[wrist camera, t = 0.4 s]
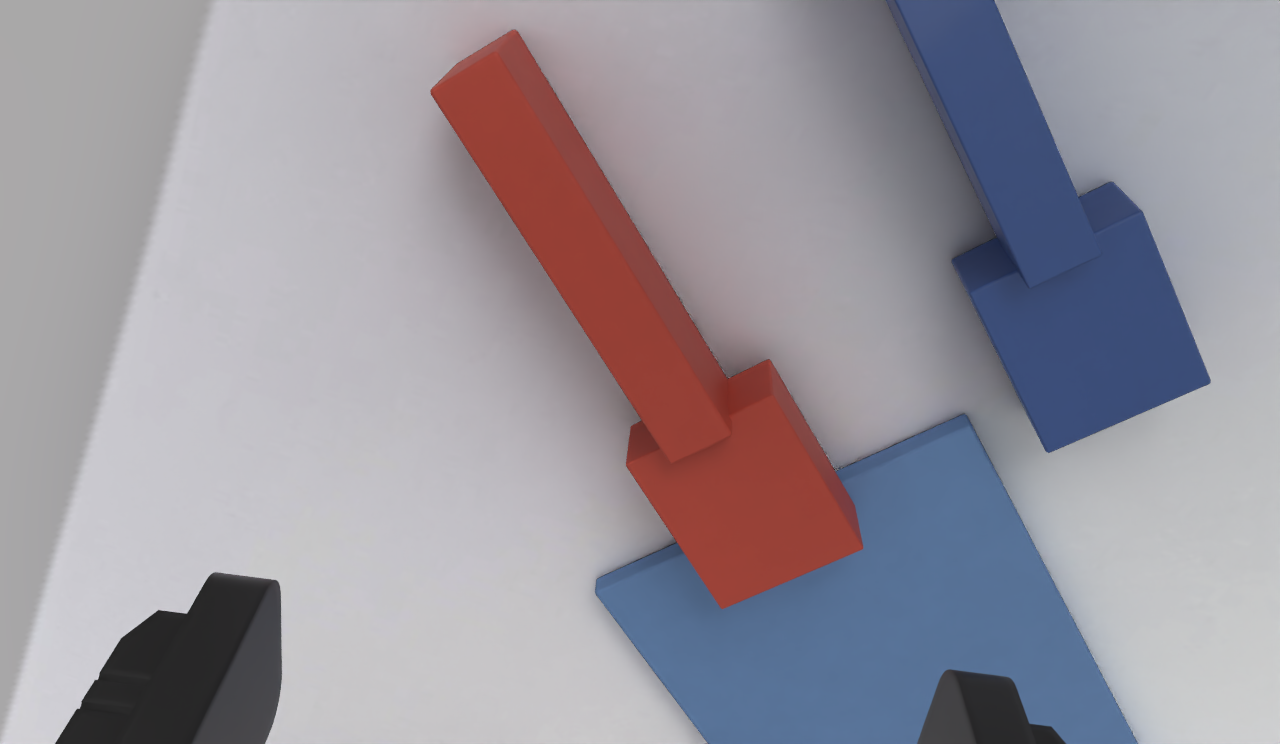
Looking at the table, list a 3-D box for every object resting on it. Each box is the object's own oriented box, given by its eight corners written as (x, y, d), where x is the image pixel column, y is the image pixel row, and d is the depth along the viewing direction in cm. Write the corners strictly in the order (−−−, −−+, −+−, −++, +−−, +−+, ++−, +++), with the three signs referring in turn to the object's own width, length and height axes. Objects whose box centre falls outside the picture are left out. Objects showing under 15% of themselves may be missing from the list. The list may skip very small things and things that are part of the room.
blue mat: (595, 577, 29) (593, 593, 29) (964, 411, 27) (970, 425, 26) (836, 901, 35) (838, 919, 34) (1161, 790, 32) (1170, 807, 32)
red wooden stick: (411, 90, 24) (381, 119, 21) (561, -1, 23) (544, 20, 20) (720, 564, 28) (721, 627, 26) (855, 506, 27) (868, 565, 25)
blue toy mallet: (761, -125, 21) (770, -111, 19) (941, -236, 20) (972, -233, 18) (1025, 413, 27) (1055, 470, 25) (1180, 344, 26) (1224, 397, 24)
